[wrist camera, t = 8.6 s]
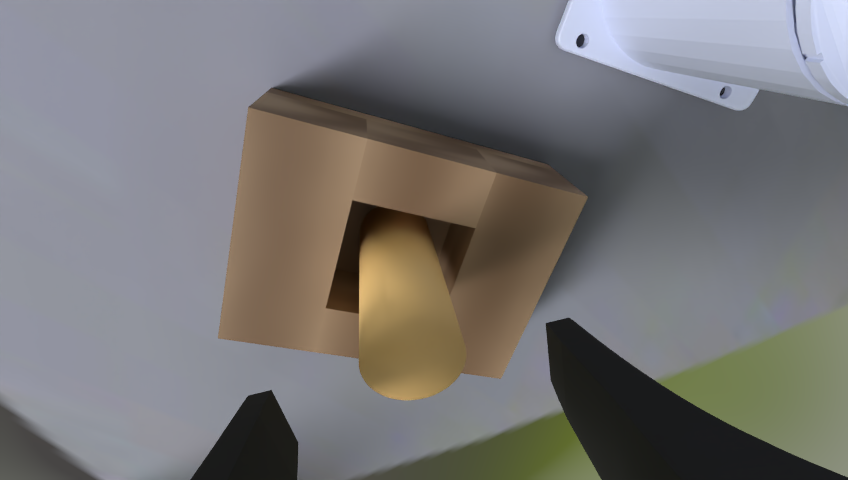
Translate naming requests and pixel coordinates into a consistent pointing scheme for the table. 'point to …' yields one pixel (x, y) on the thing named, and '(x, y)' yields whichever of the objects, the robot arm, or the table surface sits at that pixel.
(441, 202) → the walnut socket block
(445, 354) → the ochre peg
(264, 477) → the robot arm
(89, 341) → the table surface
